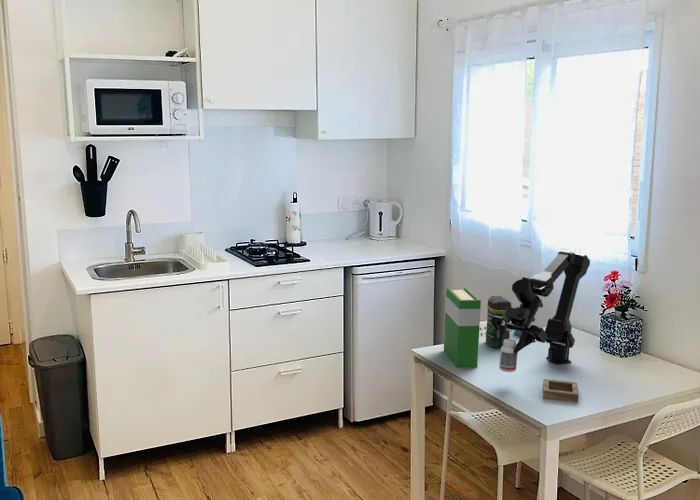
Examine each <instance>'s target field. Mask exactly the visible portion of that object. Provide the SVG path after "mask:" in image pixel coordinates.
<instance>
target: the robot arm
mask: <svg viewBox="0 0 700 500" xmlns="http://www.w3.org/2000/svg"><path fill="white" fill-rule="evenodd" d="M590 264H591V259H590V258H589V257H588V255H587V254H581V253H580V254H579V253H575V252H572V251H567V250H559V251H558V253H557V254H556V256H555V258H554V259H553V260H552V261H551V262H550V263H549V265H547V267H546V268H544V270H543V271H541V272H539V273H536V274H534V275H533V276H532V277H530V278H529V277H526V276H523V277H522V278H520V279H518V280H516V281H515V282H513V283H512V285H511V291H512V293H513V294H514V295H515V297H516V298H517V299H518V302H520V304H519V306H516V307H507V308H506V312H505V315H504V316H507V317H509V321H510V323H508V322H506V321H505V319H504V318H503V317H499V316H495V315H494V316H492V317H491V319H490V323H491V324H492V326H493V327H494V329H495V330H497V331H500V337H499V346H498V349H499V350H501V347H502V346H503V342H504V340H505V339H508V338H509V336H510V337H511V333H510V334H509V332H508V330H509V329H510V331H514V330H515V331H519V332H518V333H521V334H520V338H519V340H518V342H516V346H515V349H514V353H515V354H516V353H517V352H520V351H522V350H523V349H524V348H526V347H527V346H529V345H531V344H532V343H533V344H534V343H536V342H540V343H542V344H544V343H547V344H549V347H548V349H547V352H548V353H547V356H546V358H545V359H547V360H548V361H549V362H552V363H553V364H555V365H561V364H562V365H563V364H570V363H572V360H570V348H571V349H572V348H573V347H574V345H575V343H576V342H575V341H576V339H575V337H574V336H573V333H572V324H571V321H570V318H571V313H572V309H573V307H574V306H573V305H574V301H575V298H576V295H577V291H578V287H579V284H580V283H579V282H580V280H581V279H582V278H583V277H585V275H586V274H587V271H588V269H589V267H590ZM563 273H564V275H565V277H564V280H563V285H562V288H561V293H560V295H559V301H558V304H557V307H556V311H555V314H554V316H553V317H552V318H548V320H547V325H546V327H545V329H544V328H543V327H542V326H539V325H534V324H532V323H535V321H536V318H535V317H536V314H537V312H538V310H539V308H543V307H544V304H543V299H541V298H540V297H544V298H547V297H549V296H550V295H551V293H552V292H553V290H554V287H555V286H554V284H555V282H556V280H557V279H558V278H559V277H560V276H561V274H563ZM515 331H514V332H515ZM517 354H518V353H517Z"/></svg>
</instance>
